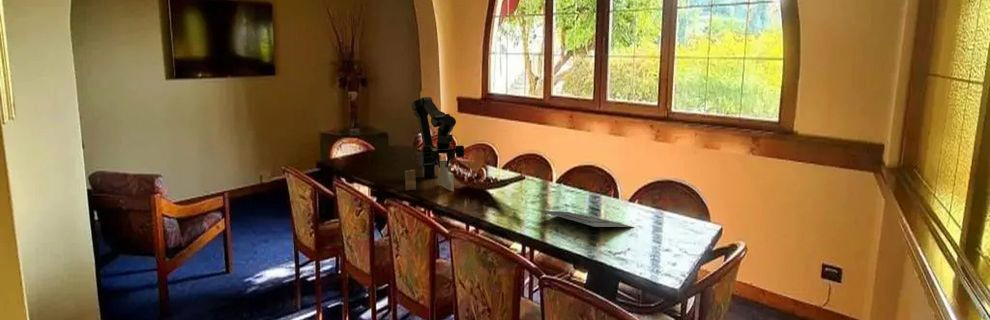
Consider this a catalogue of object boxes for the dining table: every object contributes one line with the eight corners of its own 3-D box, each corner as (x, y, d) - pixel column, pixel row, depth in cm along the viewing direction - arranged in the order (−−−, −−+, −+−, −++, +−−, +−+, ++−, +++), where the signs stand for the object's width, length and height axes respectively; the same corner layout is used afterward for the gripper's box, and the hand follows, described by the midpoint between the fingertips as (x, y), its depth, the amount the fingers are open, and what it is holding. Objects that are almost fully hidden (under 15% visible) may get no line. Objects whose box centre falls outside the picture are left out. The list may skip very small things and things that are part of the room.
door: (438, 185, 291) (437, 169, 289) (443, 184, 292) (442, 168, 291) (448, 191, 281) (447, 174, 279) (453, 190, 282) (453, 174, 280)
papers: (574, 218, 254) (575, 209, 254) (634, 234, 232) (635, 224, 232) (532, 217, 238) (534, 208, 238) (593, 234, 216) (595, 224, 216)
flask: (433, 184, 276) (432, 162, 274) (440, 180, 282) (439, 159, 280) (447, 185, 273) (447, 163, 271) (454, 181, 280) (454, 160, 278)
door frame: (405, 189, 286) (404, 170, 284) (450, 183, 296) (450, 164, 294) (406, 190, 284) (406, 171, 282) (452, 184, 294) (452, 165, 292)
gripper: (421, 128, 276) (420, 158, 267) (463, 127, 276) (464, 157, 268) (423, 142, 285) (422, 171, 277) (464, 141, 286) (464, 170, 278)
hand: (443, 167), depth 275 cm, fingers closed on flask, 3 cm apart
